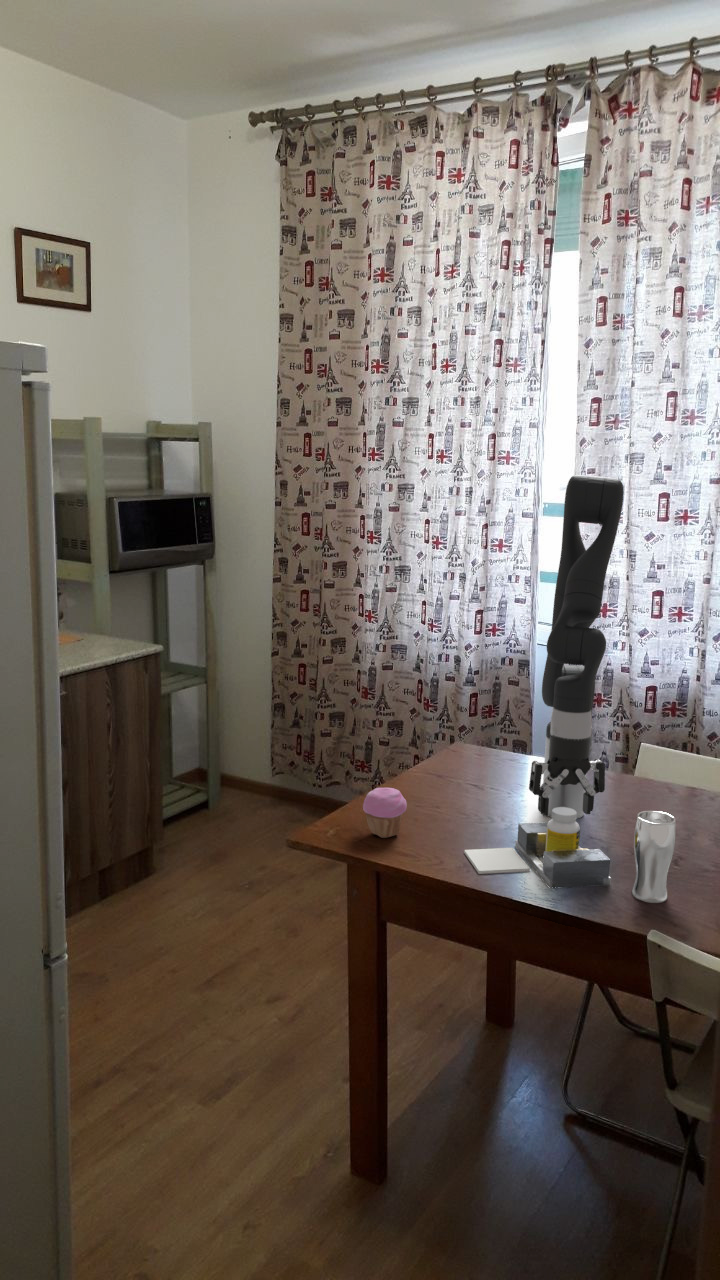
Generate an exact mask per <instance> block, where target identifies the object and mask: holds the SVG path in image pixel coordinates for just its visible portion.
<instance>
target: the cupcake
mask: <svg viewBox="0 0 720 1280" xmlns="http://www.w3.org/2000/svg"><path fill="white" fill-rule="evenodd" d="M407 806H408V805H407V800H406V799H405V797H404V796H403V794H402V793H401V791H400V790H399V789H396V788H393V787H376V788H374V789H372V790H371V791H369V792H368V793H367V794H366V796H365V798H364V801H363V804H362V809H363V811H364V813H365V816H366V822H367V825H368V827H369V830H370V832H371V833H372V834H373V835H376V836H378V837H380V838H382V839H386V838H391V837H394V836H397V835H398V834H399V833H400V830H401V829H400V828H401V827H400V826H401V820H402V815H403V814H404V813H405V812H406V811H407Z"/></svg>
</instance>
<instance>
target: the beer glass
mask: <svg viewBox="0 0 720 1280" xmlns="http://www.w3.org/2000/svg"><path fill="white" fill-rule="evenodd" d="M676 819H677V818H676V817H675V816H673V815H671V814H669V813H667V812H663V811H660V810H659V811H657V810H642V811H640V812H638V813H637V817H636V823H635V829H634V836H633V837H634V838H633V851H634V852H633V853H634V861H635V880H634V884H633V887H632V896H633V897H634V898H635V899H637V900H639V901H642V902H645V903H650V904H660V903H664V902H666V901H667V899H668V888H667V878H668V877H667V876H668V874H669V870H670V869H669V868H670V866H671V862H672V860H673V859H672V858H673V856H674V855H673V854H674V850H675V844H676Z"/></svg>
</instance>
